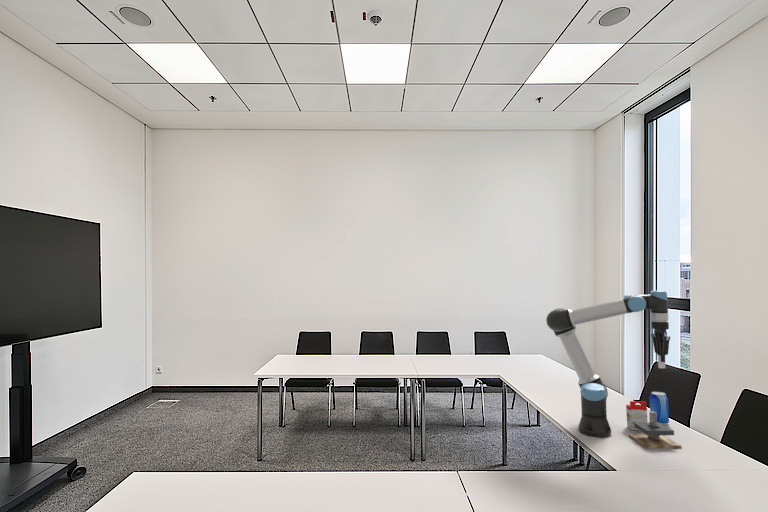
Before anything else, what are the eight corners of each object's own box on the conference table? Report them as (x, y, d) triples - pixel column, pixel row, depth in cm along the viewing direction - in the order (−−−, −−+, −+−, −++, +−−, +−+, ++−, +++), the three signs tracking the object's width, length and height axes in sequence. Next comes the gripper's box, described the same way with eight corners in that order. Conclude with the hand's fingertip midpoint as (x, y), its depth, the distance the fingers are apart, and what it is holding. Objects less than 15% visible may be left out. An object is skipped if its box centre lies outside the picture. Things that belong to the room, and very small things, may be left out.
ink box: (643, 427, 238) (642, 398, 238) (648, 430, 233) (647, 401, 233) (626, 427, 238) (625, 398, 239) (630, 430, 234) (629, 401, 234)
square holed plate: (647, 435, 211) (647, 431, 211) (634, 426, 223) (634, 422, 223) (674, 435, 211) (673, 430, 211) (659, 426, 223) (659, 422, 223)
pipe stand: (646, 448, 209) (644, 417, 210) (628, 436, 225) (627, 407, 226) (681, 448, 208) (680, 417, 209) (661, 435, 224) (660, 407, 225)
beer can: (672, 425, 239) (671, 395, 240) (656, 426, 239) (655, 395, 240) (663, 420, 247) (661, 391, 248) (647, 421, 247) (646, 391, 248)
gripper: (675, 322, 224) (677, 370, 223) (659, 319, 237) (661, 365, 236) (659, 322, 224) (661, 370, 223) (645, 320, 238) (647, 365, 236)
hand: (661, 368), depth 230 cm, fingers closed
